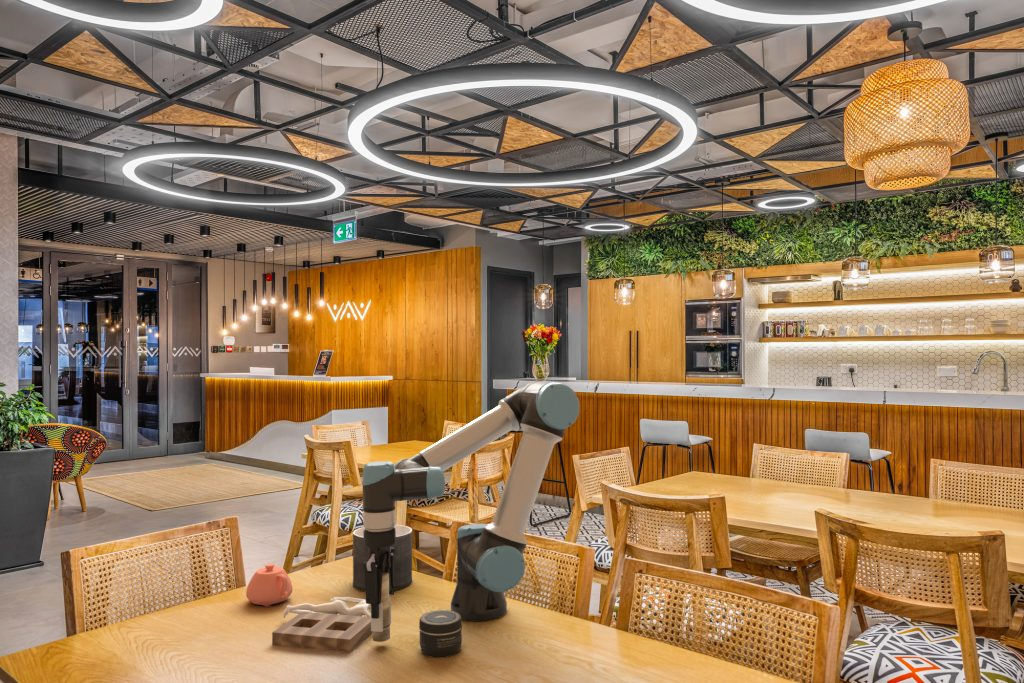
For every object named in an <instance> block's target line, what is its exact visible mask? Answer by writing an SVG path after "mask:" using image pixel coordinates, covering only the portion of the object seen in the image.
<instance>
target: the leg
mask: <svg viewBox="0 0 1024 683" xmlns="http://www.w3.org/2000/svg"><path fill="white" fill-rule="evenodd" d="M381 603H383V631H382V632H375V631H373V632H372V640H373V642H378V643H382V642H386V641H389V640H390V639H391V624H390V609H389V573H383V574H382V590H381Z"/></svg>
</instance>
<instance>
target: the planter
mask: <svg viewBox="0 0 1024 683" xmlns="http://www.w3.org/2000/svg"><path fill="white" fill-rule="evenodd" d="M394 528H395V529H396V542H395V544H393V545H392V546H390V548H395V558H394V560H395V588H394V589H392V591H397V590H401V589H404V588H407V587H408V586H410V585H412V583H413V529H412V527H410V526H407V525H403V524H402V525H401V524H396V525H395V526H394ZM365 529H366V528H364V526H363V527H358V528H356V529H355V530H353V532H352V585H353V587H354V588H355V589H356V590H359V591H363V592H365V570H364V562H368V561H369V553H370V548H369V547H366V546H365V545H364V534H363V531H364V530H365ZM377 570H378V569H377Z"/></svg>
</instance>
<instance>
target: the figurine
mask: <svg viewBox="0 0 1024 683" xmlns="http://www.w3.org/2000/svg"><path fill="white" fill-rule="evenodd" d="M329 601H330V602H327V603H320V604H318V605H316V604H311V603H309V602H306V603H301V604H300V603H299V604H297V605H286V607H285V609H284V612H283V618H284V619H285V618H286V617H287V615H289V613H292V614H295V615H296V614H297V615H298V614H300V613H301V612H313V613H325V614H337V615H348V616H360V617H364V616H365V617H371V604H366V599H364V598H356V597H355V598H354V597H352V596H343V597H342V596H334V597H332V598H331V599H330V600H329ZM331 601H332V602H331ZM345 601H349V602H353V603H356V604H355V605H353V606H351V607H349V606H348V605H347V603H346V602H345Z"/></svg>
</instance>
